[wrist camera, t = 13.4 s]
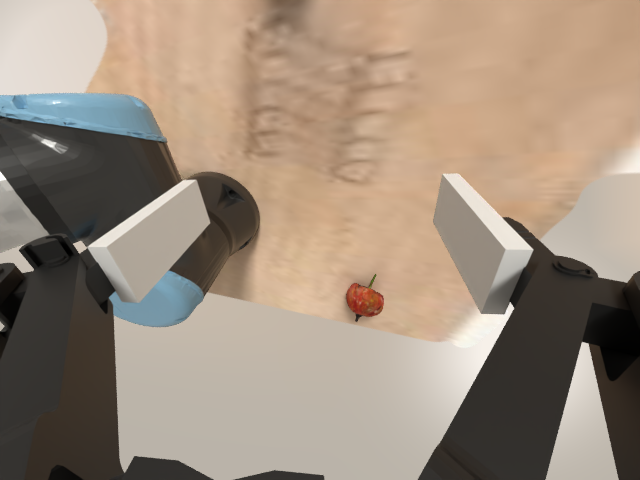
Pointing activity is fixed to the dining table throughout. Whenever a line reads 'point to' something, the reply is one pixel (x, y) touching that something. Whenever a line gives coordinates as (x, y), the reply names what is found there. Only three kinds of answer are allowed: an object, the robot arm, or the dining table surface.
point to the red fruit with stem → (364, 300)
